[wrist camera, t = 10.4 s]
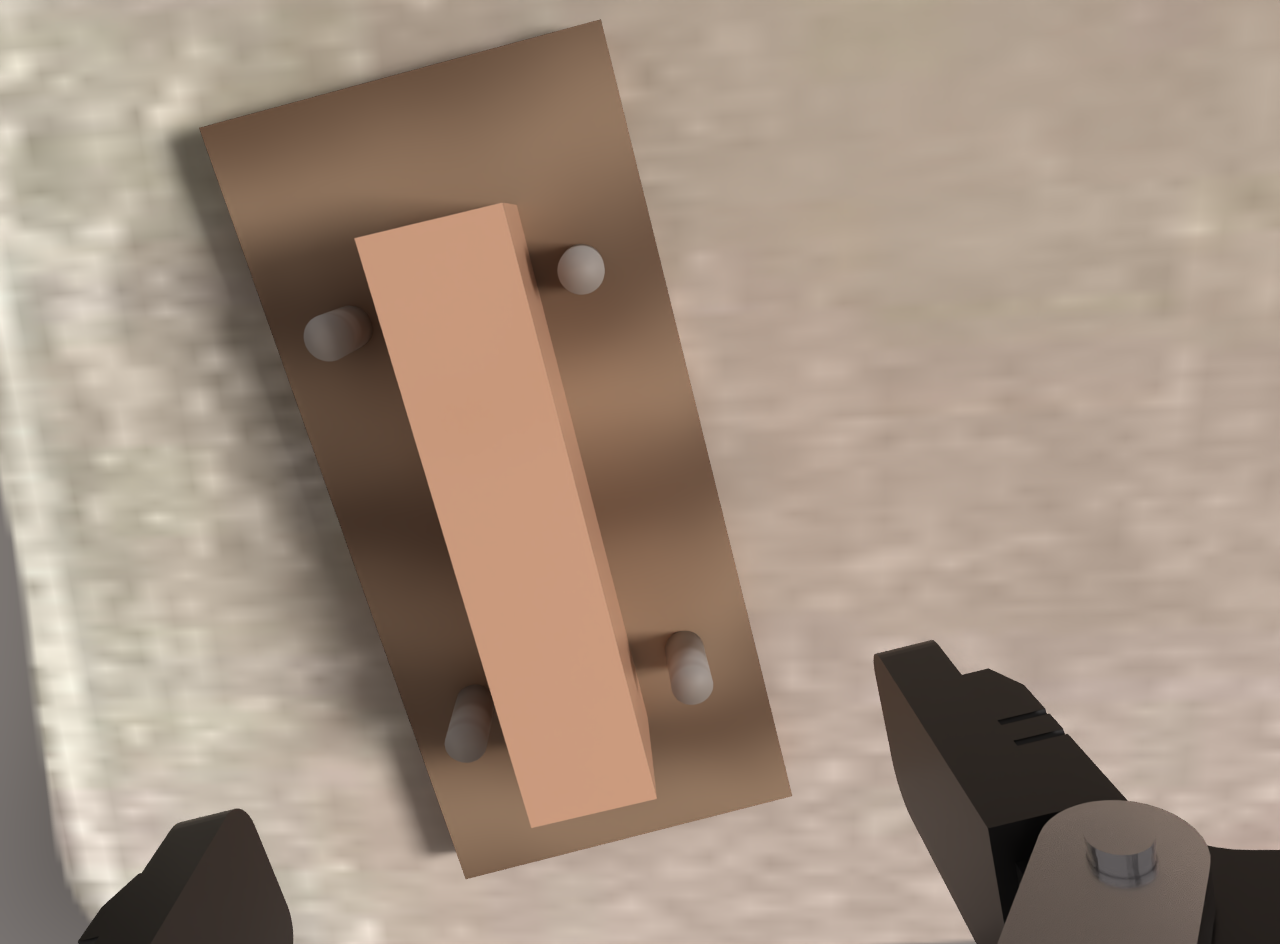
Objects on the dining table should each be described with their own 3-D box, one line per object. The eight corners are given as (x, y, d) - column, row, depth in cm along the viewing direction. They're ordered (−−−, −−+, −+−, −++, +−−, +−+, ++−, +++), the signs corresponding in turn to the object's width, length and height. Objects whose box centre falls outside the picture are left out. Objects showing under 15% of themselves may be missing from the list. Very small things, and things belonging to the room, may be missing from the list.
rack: (219, 132, 28) (159, 118, 24) (600, 29, 27) (601, -2, 23) (471, 850, 34) (455, 932, 30) (783, 771, 33) (808, 843, 30)
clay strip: (392, 234, 27) (354, 238, 23) (516, 204, 27) (502, 202, 23) (539, 742, 31) (531, 827, 27) (647, 717, 31) (656, 798, 27)
